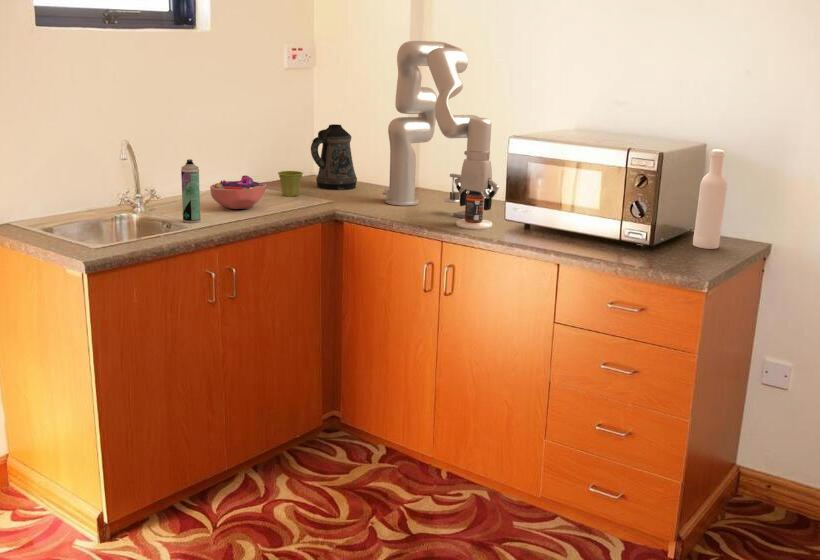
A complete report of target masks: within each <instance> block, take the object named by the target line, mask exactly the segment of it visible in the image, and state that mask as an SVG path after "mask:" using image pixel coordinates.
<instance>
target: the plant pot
mask: <svg viewBox="0 0 820 560" xmlns="http://www.w3.org/2000/svg"><path fill="white" fill-rule="evenodd" d="M303 174H304V172H303V171H298V170H283V171H278V172H277V175H278V176H279V179H280V186H281V187H280V188H281V193H282V196H285V197H291V198H292V197H294V196H296V197H298V196H299V194H300V188H301V187H300V186H301V180H302V177H303Z"/></svg>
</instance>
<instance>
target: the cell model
mask: <svg viewBox="0 0 820 560" xmlns="http://www.w3.org/2000/svg"><path fill="white" fill-rule="evenodd" d="M267 186H268V185H267V184H266V183H263V182H258V181H254V179H253V178H252V176H251V177H250V176H249V175H242V176H241V179H240V180H228V181H227V180H225V179H224V180H220V182H217V183H215V184H212V185H210V187H209V188H210V189H209V190H210V196H211V197H212V199H213V200H214V201H215V202H216V203H217V204H219V205H220V206H222V207H223V208H226V209H231V210H245V209H246V210H247V209H251V208H253V206H255V205H256V204H258V203H259V202H260V200H261V199H262V198H263V196H264V195H265V194H264V193H265V191H266V189H267Z"/></svg>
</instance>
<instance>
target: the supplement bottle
mask: <svg viewBox="0 0 820 560" xmlns="http://www.w3.org/2000/svg"><path fill="white" fill-rule="evenodd" d="M469 192H470V193H469V194H467V195H466V205H465V206H464V208H465V210H464V211H465V221H467V222H470V223H480V222H482V219H483V217H484V199H485V197H484V196H483V195H482V194H481V192H475V191H469Z"/></svg>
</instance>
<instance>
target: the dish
mask: <svg viewBox="0 0 820 560" xmlns="http://www.w3.org/2000/svg"><path fill="white" fill-rule="evenodd" d="M455 226H457V227H458V228H460V229H465V230H466V229H467V230H475V231H476V230H478V231H479V230H480V231H481V230H488V229H491V228H493V222H492V221H490V220H488V219H482V222H480V223H470V222H467V221H465V219H464V218H460V219H457V220H456V224H455Z"/></svg>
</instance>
